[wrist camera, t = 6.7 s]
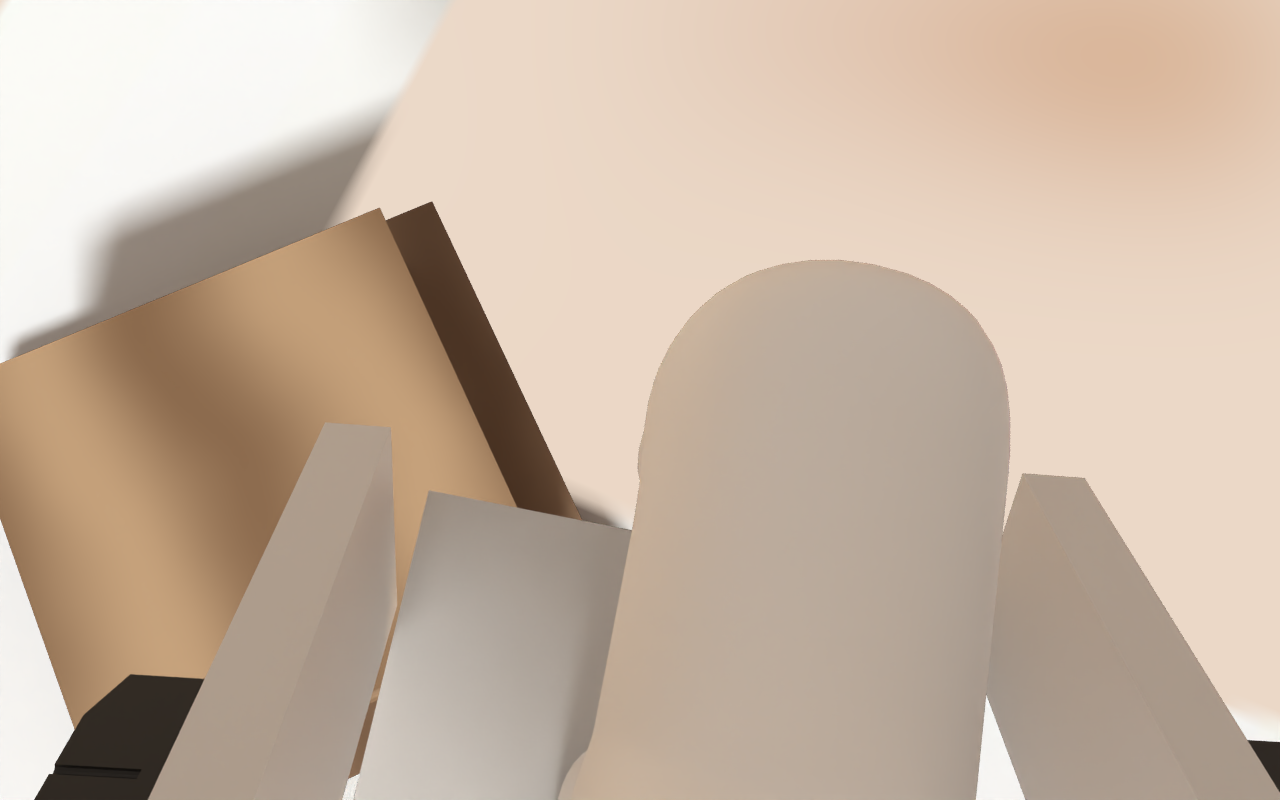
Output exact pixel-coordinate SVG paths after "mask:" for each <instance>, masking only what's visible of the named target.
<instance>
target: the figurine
mask: <svg viewBox="0 0 1280 800" xmlns="http://www.w3.org/2000/svg"><path fill="white" fill-rule="evenodd" d="M1009 458H1010V411H1009V402H1008V392H1007V385H1006V381H1005V377H1004V373H1003V369H1002V365H1001V363H1000V360H999V358H998V356H997V353H996V351H995V349H994V346H993V344H992V343H991V341H990V340H989V338H988V337H987V335H986V334H985V332H984V330H983V329H982V327H981V326H980V324H979V323H978V321H977V320H976V319H975V318H974V316H973V315H972V314H970V312H969V311H968V310H967V309H966V308H965V307H963V306H962V305H961V304H960V303H959V302H958V301H956V300H955V299H954V298H953V297H952V296H950V295H949V294H947V293H945V292H944V291H942V290H940V289H939V288H937V287H935V286H934V285H932V284H930V283H928V282H926V281H924V280H921V279H919V278H916V277H914V276H912V275H909V274H907V273H904V272H900V271H896V270H892V269H888V268H885V267H881V266H877V265H873V264H867V263H859V262H851V261H844V260H809V261H801V262H795V263H787V264H782V265H778V266H774V267H771V268H767V269H764V270H760V271H757V272H755V273H752V274H750V275H747V276H745V277H743V278H742V279H740V280H738V281H736V282H734V283H732V284H731V285H729V286H727V287H726V288H724V289H723V290H721V291H719V292H718V293H716V294H715V295H714V296H713V297H712V298H711V299H710V300H708V301H707V302H706V303H705V304H704V305H703V306H702V307H700V308H699V309H698V310H697V311H696V312H695V313H694V315H692V316H691V317H690V319H689V320H688V321H687V323H686V324H685V325H684V327H683V328H682V329H681V331H680V332H679V333H678V335H677V336H676V337H675V339H674V341H673V342H672V344H671V345H670V347H669V349H668V351H667V353H666V355H665V357H664V359H663V361H662V363H661V365H660V367H659V369H658V372H657V375H656V377H655V380H654V383H653V387H652V391H651V394H650V398H649V401H648V407H647V414H646V420H645V428H644V432H643V436H642V440H641V443H640V447H639V454H638V474H639V479H640V482H639V491H638V498H637V504H636V510H635V516H634V522H633V527H632V530H628V529H623V528H618V527H612V526H607V525H602V524H597V523H592V522H587V521H582V520H577V519H572V518H567V517H562V516H557V515H552V514H547V513H542V512H536V511H531V510H526V509H521V508H516V507H511V506H506V505H501V504H496V503H491V502H486V501H481V500H476V499H471V498H466V497H461V496H455V495H450V494H445V493H440V492H435V491H430V490H429V492H428V496H427V500H426V504H425V508H424V512H423V516H422V520H421V524H420V528H419V532H418V537H417V541H416V545H415V549H414V553H413V557H412V561H411V565H410V569H409V573H408V578H407V582H406V586H405V590H404V594H403V598H402V602H401V606H400V610H399V614H398V618H397V623H396V627H395V631H394V635H393V639H392V643H391V647H390V651H389V655H388V659H387V664H386V668H385V672H384V676H383V680H382V684H381V688H380V692H379V696H378V700H377V704H376V709H375V713H374V717H373V721H372V725H371V729H370V733H369V737H368V741H367V745H366V750H365V754H364V758H363V762H362V766H361V770H360V774H359V778H358V782H357V786H356V790H355V795H354V799H353V800H976V792H977V782H978V772H979V762H980V752H981V742H982V732H983V722H984V712H985V702H986V692H987V682H988V672H989V662H990V652H991V642H992V632H993V622H994V612H995V602H996V592H997V582H998V572H999V562H1000V552H1001V542H1002V532H1003V522H1004V513H1005V503H1006V494H1007V493H1006V492H1007V483H1008V473H1009Z"/></svg>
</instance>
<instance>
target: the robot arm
mask: <svg viewBox="0 0 1280 800" xmlns="http://www.w3.org/2000/svg"><path fill="white" fill-rule="evenodd" d="M396 608H397V588H396V559H395V530H394V501H393V472H392V443H391V427H381V426H367V425H354V424H340V423H326V422H325V424H324V426H323V428H322V430H321V432H320V434H319V437H318V439H317V441H316V443H315V445H314V447H313V449H312V451H311V454H310V456H309V458H308V460H307V462H306V464H305V466H304V468H303V471H302V473H301V475H300V477H299V479H298V481H297V483H296V485H295V488H294V490H293V492H292V494H291V496H290V498H289V500H288V503H287V505H286V507H285V509H284V511H283V513H282V515H281V517H280V520H279V522H278V524H277V526H276V528H275V530H274V532H273V534H272V537H271V539H270V541H269V543H268V545H267V547H266V549H265V551H264V554H263V556H262V558H261V560H260V562H259V564H258V566H257V569H256V571H255V573H254V575H253V577H252V579H251V581H250V583H249V586H248V588H247V590H246V592H245V594H244V596H243V598H242V600H241V603H240V605H239V607H238V609H237V611H236V613H235V615H234V617H233V620H232V622H231V624H230V626H229V628H228V630H227V632H226V635H225V637H224V639H223V641H222V643H221V645H220V647H219V649H218V652H217V654H216V656H215V658H214V660H213V662H212V664H211V666H210V669H209V671H208V673H207V675H206V677H205V679H200V678H184V677H168V676H151V675H135V674H130V675H129V676H128V677H126V678H125V679H124V680H123V681H122V682H121V683H120V684H118V685H117V686H116V687H115V688H114V689H113V690H112V691H110V692H109V693H108V694H107V695H106V696H105V697H103V698H102V699H101V700H100V701H99V702H98V703H97V704H95V705H94V706H93V707H92V708H91V709H90V710H88V711H87V712H86V713H85V714H84V715H83V716H82V718H81V720H80V722H79V723H78V725H77V727H76V729H75V730H74V732H73V734H72V735H71V737H70V739H69V741H68V742H67V744H66V746H65V748H64V749H63V751H62V753H61V754H60V756H59V758H58V760H57V761H56V763H55V770H54V773H53V774H49V775H48V777H47V779H46V780H45V782H44V784H43V786H42V787H41V789H40V791H39V792H38V794H37V796H36V798H35V799H34V800H342V798H343V795H344V791H345V788H346V784H347V781H348V777H349V774H350V770H351V767H352V763H353V759H354V756H355V752H356V749H357V745H358V742H359V738H360V735H361V731H362V728H363V724H364V721H365V717H366V714H367V710H368V706H369V703H370V699H371V696H372V692H373V689H374V685H375V682H376V678H377V675H378V671H379V668H380V664H381V661H382V657H383V653H384V650H385V646H386V643H387V639H388V636H389V632H390V629H391V625H392V622H393V618H394V615H395V611H396ZM986 695H987V698H988V700H989V703H990V706H991V708H992V711H993V714H994V716H995V719H996V722H997V724H998V727H999V730H1000V732H1001V735H1002V738H1003V740H1004V743H1005V746H1006V749H1007V751H1008V754H1009V757H1010V759H1011V762H1012V765H1013V767H1014V770H1015V773H1016V775H1017V778H1018V781H1019V783H1020V786H1021V789H1022V792H1023V794H1024V797H1025V800H1280V742H1268V741H1252V740H1247V739H1246V737H1245V736H1244V734H1243V732H1242V731H1241V729H1240V728H1239V726H1238V724H1237V723H1236V721H1235V720H1234V718H1233V716H1232V715H1231V713H1230V712H1229V710H1228V708H1227V707H1226V705H1225V703H1224V702H1223V700H1222V699H1221V697H1220V695H1219V694H1218V692H1217V691H1216V689H1215V687H1214V686H1213V684H1212V683H1211V681H1210V679H1209V678H1208V676H1207V674H1206V673H1205V671H1204V670H1203V668H1202V666H1201V665H1200V663H1199V662H1198V660H1197V658H1196V657H1195V655H1194V654H1193V652H1192V650H1191V649H1190V647H1189V645H1188V644H1187V642H1186V641H1185V640H1184V637H1183V636H1182V634H1181V633H1180V631H1179V629H1178V628H1177V626H1176V625H1175V623H1174V621H1173V620H1172V618H1171V617H1170V615H1169V613H1168V612H1167V610H1166V608H1165V607H1164V605H1163V604H1162V602H1161V600H1160V599H1159V597H1158V596H1157V594H1156V592H1155V591H1154V589H1153V588H1152V586H1151V585H1150V583H1149V581H1148V579H1147V578H1146V577H1145V575H1144V573H1143V572H1142V570H1141V568H1140V567H1139V565H1138V563H1137V562H1136V560H1135V559H1134V557H1133V555H1132V554H1131V552H1130V550H1129V549H1128V547H1127V546H1126V545H1125V542H1124V541H1123V539H1122V538H1121V536H1120V535H1119V533H1118V531H1117V530H1116V528H1115V526H1114V525H1113V523H1112V522H1111V520H1110V518H1109V517H1108V515H1107V513H1106V512H1105V510H1104V509H1103V507H1102V506H1101V504H1100V502H1099V501H1098V499H1097V497H1096V496H1095V494H1094V493H1093V491H1092V489H1091V488H1090V486H1089V484H1088V483H1087V481H1086V480H1085V478H1077V477H1064V476H1049V475H1037V474H1022V477H1021V480H1020V483H1019V486H1018V489H1017V492H1016V495H1015V498H1014V501H1013V504H1012V507H1011V510H1010V513H1009V516H1008V520H1007V523H1006V526H1005V529H1004V532H1003V535H1002V542H1001V552H1000V562H999V572H998V582H997V592H996V602H995V612H994V622H993V632H992V642H991V652H990V662H989V672H988V682H987V692H986Z"/></svg>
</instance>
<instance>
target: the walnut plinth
mask: <svg viewBox="0 0 1280 800" xmlns="http://www.w3.org/2000/svg"><path fill="white" fill-rule="evenodd" d="M325 422H326V423H340V424H354V425H367V426H381V427H391V443H392V472H393V501H394V530H395V559H396V588H397V608H396V611H395V615H394V618H393V622H392V625H391V629H390V632H389V636H388V639H387V643H386V646H385V650H384V653H383V657H382V661H381V664H380V668H379V671H378V675H377V678H376V682H375V685H374V689H373V692H372V696H371V699H370V703H369V706H368V710H367V714H366V717H365V721H364V724H363V728H362V731H361V735H360V738H359V742H358V745H357V749H356V752H355V756H354V759H353V763H352V767H351V770H350V774H349V777H348V779H349V778H351V777H353V776H355V775H357V774H359V773H360V770H361V766H362V762H363V758H364V754H365V750H366V745H367V741H368V737H369V733H370V729H371V725H372V721H373V717H374V713H375V709H376V704H377V700H378V696H379V692H380V688H381V684H382V680H383V676H384V672H385V668H386V664H387V659H388V655H389V651H390V647H391V643H392V639H393V635H394V631H395V627H396V623H397V618H398V614H399V610H400V606H401V602H402V598H403V594H404V590H405V586H406V582H407V578H408V573H409V569H410V565H411V561H412V557H413V553H414V549H415V545H416V541H417V537H418V532H419V528H420V524H421V520H422V516H423V512H424V508H425V504H426V500H427V496H428V492H429V490H430V491H435V492H440V493H445V494H450V495H455V496H461V497H466V498H471V499H476V500H481V501H486V502H491V503H496V504H501V505H506V506H511V507H516V508H521V509H526V510H531V511H536V512H542V513H547V514H552V515H557V516H562V517H567V518H572V519H577V520H582V519H581V517H580V515H579V512H578V510H577V508H576V506H575V504H574V502H573V500H572V498H571V495H570V493H569V491H568V489H567V487H566V485H565V483H564V481H563V478H562V476H561V474H560V472H559V470H558V468H557V466H556V464H555V461H554V460H553V457H552V455H551V453H550V451H549V449H548V447H547V444H546V442H545V441H544V438H543V436H542V434H541V432H540V430H539V427H538V425H537V423H536V421H535V419H534V417H533V415H532V413H531V411H530V408H529V406H528V404H527V402H526V400H525V398H524V396H523V394H522V391H521V389H520V387H519V385H518V383H517V381H516V379H515V377H514V374H513V372H512V370H511V368H510V366H509V364H508V362H507V359H506V358H505V355H504V353H503V351H502V349H501V347H500V345H499V343H498V340H497V338H496V336H495V334H494V332H493V330H492V328H491V326H490V324H489V321H488V319H487V317H486V315H485V313H484V311H483V309H482V306H481V304H480V302H479V300H478V298H477V296H476V294H475V291H474V289H473V287H472V285H471V283H470V281H469V279H468V277H467V274H466V272H465V270H464V268H463V266H462V264H461V262H460V260H459V258H458V255H457V253H456V251H455V249H454V247H453V245H452V243H451V240H450V238H449V236H448V234H447V232H446V230H445V228H444V226H443V224H442V222H441V219H440V217H439V215H438V213H437V211H436V209H435V207H434V204H433V202H429V203H427V204H425V205H422V206H420V207H417V208H415V209H412V210H410V211H407V212H405V213H403V214H400V215H398V216H395V217H393V218H391V219H388V220H385V218H384V216H383V214H382V212H381V210H380V208H378V209H375V210H373V211H370V212H368V213H365V214H363V215H361V216H358V217H356V218H353V219H351V220H348V221H346V222H343V223H341V224H339V225H336V226H334V227H331V228H329V229H326V230H324V231H322V232H319V233H317V234H314V235H312V236H309V237H307V238H305V239H302V240H300V241H297V242H295V243H292V244H290V245H288V246H285V247H283V248H280V249H278V250H275V251H273V252H270V253H268V254H266V255H263V256H261V257H258V258H256V259H253V260H251V261H249V262H246V263H244V264H241V265H239V266H236V267H234V268H232V269H229V270H227V271H224V272H222V273H219V274H217V275H215V276H212V277H210V278H207V279H205V280H202V281H200V282H198V283H195V284H193V285H190V286H188V287H185V288H183V289H180V290H178V291H176V292H173V293H171V294H168V295H166V296H163V297H161V298H159V299H156V300H154V301H151V302H149V303H146V304H144V305H142V306H139V307H137V308H134V309H132V310H129V311H127V312H125V313H122V314H120V315H117V316H115V317H112V318H110V319H108V320H105V321H103V322H100V323H98V324H95V325H93V326H90V327H88V328H86V329H83V330H81V331H78V332H76V333H73V334H71V335H69V336H66V337H64V338H61V339H59V340H56V341H54V342H52V343H49V344H47V345H44V346H42V347H39V348H37V349H35V350H32V351H30V352H27V353H25V354H22V355H20V356H18V357H15V358H13V359H10V360H8V361H5V362H3V363H0V519H1V522H2V525H3V528H4V531H5V533H6V536H7V539H8V542H9V545H10V548H11V550H12V553H13V556H14V559H15V562H16V565H17V567H18V570H19V573H20V576H21V579H22V582H23V584H24V587H25V590H26V593H27V596H28V599H29V601H30V604H31V607H32V610H33V613H34V616H35V618H36V621H37V624H38V627H39V630H40V633H41V635H42V638H43V641H44V644H45V647H46V650H47V652H48V655H49V658H50V661H51V664H52V666H53V669H54V672H55V675H56V678H57V681H58V683H59V686H60V689H61V692H62V695H63V698H64V700H65V703H66V706H67V709H68V712H69V715H70V717H71V720H72V723H73V726H74V729H76V727H77V725H78V723H79V722H80V720H81V718H82V716H83V715H84V714H85V713H86V712H87V711H88V710H90V709H91V708H92V707H93V706H94V705H95V704H97V703H98V702H99V701H100V700H101V699H102V698H103V697H105V696H106V695H107V694H108V693H109V692H110V691H112V690H113V689H114V688H115V687H116V686H117V685H118V684H120V683H121V682H122V681H123V680H124V679H125V678H126V677H128V676H129V675H130V674H135V675H151V676H168V677H184V678H200V679H205V677H206V675H207V673H208V671H209V669H210V666H211V664H212V662H213V660H214V658H215V656H216V654H217V652H218V649H219V647H220V645H221V643H222V641H223V639H224V637H225V635H226V632H227V630H228V628H229V626H230V624H231V622H232V620H233V617H234V615H235V613H236V611H237V609H238V607H239V605H240V603H241V600H242V598H243V596H244V594H245V592H246V590H247V588H248V586H249V583H250V581H251V579H252V577H253V575H254V573H255V571H256V569H257V566H258V564H259V562H260V560H261V558H262V556H263V554H264V551H265V549H266V547H267V545H268V543H269V541H270V539H271V537H272V534H273V532H274V530H275V528H276V526H277V524H278V522H279V520H280V517H281V515H282V513H283V511H284V509H285V507H286V505H287V503H288V500H289V498H290V496H291V494H292V492H293V490H294V488H295V485H296V483H297V481H298V479H299V477H300V475H301V473H302V471H303V468H304V466H305V464H306V462H307V460H308V458H309V456H310V454H311V451H312V449H313V447H314V445H315V443H316V441H317V439H318V437H319V434H320V432H321V430H322V428H323V426H324V424H325Z"/></svg>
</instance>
